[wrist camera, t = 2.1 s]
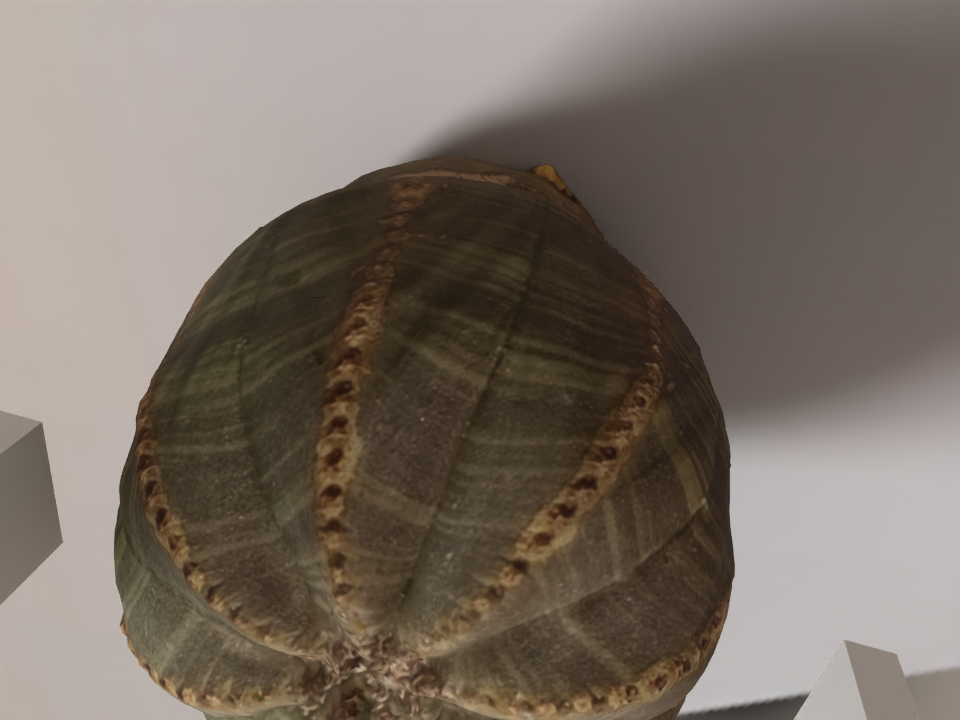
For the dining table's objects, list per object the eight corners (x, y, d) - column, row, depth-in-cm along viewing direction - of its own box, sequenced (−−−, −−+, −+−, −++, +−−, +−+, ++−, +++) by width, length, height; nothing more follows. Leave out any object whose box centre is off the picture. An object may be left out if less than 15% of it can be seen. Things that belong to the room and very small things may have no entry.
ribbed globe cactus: (540, 538, 23) (463, 1002, 13) (242, 348, 22) (-107, 702, 12) (796, 290, 18) (1007, 749, 8) (421, 16, 16) (65, 129, 6)
